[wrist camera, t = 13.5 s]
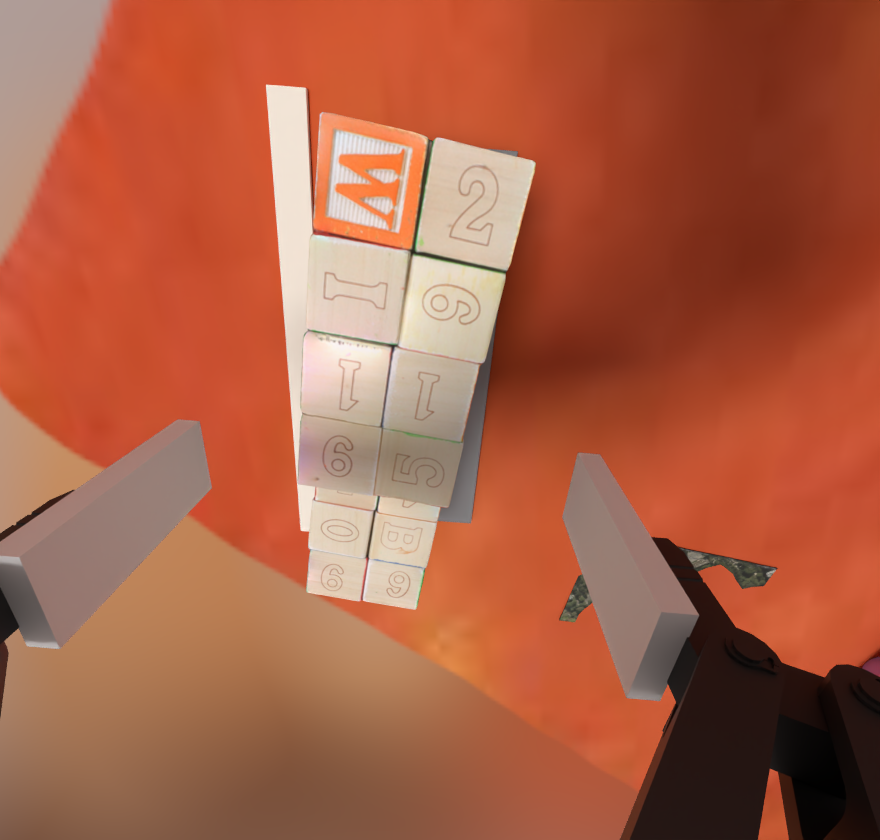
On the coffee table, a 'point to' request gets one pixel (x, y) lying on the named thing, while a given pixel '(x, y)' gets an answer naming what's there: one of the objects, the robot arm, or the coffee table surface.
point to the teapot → (873, 666)
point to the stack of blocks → (395, 342)
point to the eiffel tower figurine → (742, 570)
